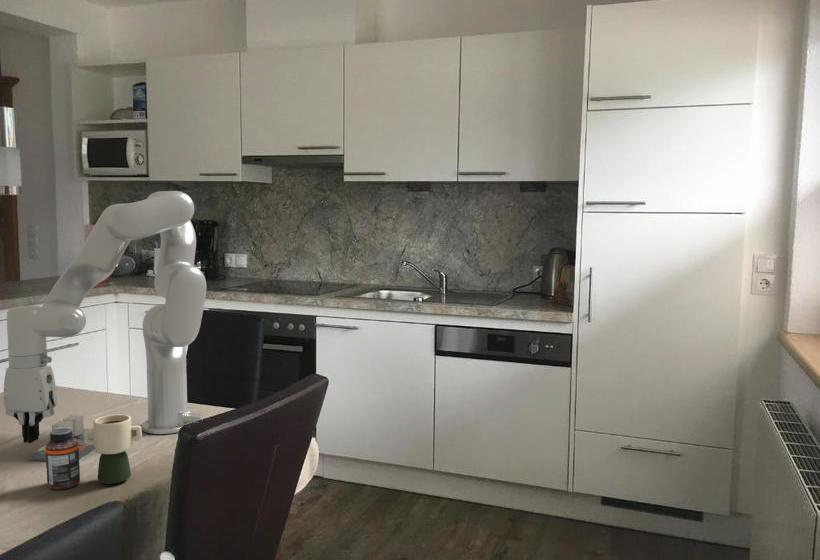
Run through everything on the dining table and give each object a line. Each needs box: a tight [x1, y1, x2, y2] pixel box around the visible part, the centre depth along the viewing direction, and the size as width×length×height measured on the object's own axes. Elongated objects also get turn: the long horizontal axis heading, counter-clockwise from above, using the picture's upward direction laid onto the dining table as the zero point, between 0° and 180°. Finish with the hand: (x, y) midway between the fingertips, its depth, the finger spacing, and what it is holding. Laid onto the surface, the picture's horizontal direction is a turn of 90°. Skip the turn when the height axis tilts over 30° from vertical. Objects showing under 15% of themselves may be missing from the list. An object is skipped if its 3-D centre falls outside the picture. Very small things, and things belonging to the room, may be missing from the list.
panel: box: [30, 432, 95, 462], centre depth 158 cm, size 10×16×2 cm, turn 176°
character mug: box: [83, 413, 143, 485], centre depth 138 cm, size 11×7×13 cm, turn 108°
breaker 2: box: [62, 414, 85, 436], centre depth 162 cm, size 3×3×4 cm
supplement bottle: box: [44, 428, 81, 491], centre depth 136 cm, size 6×6×11 cm
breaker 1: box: [51, 420, 73, 433], centre depth 158 cm, size 3×3×4 cm
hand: (31, 440), depth 153 cm, fingers closed
